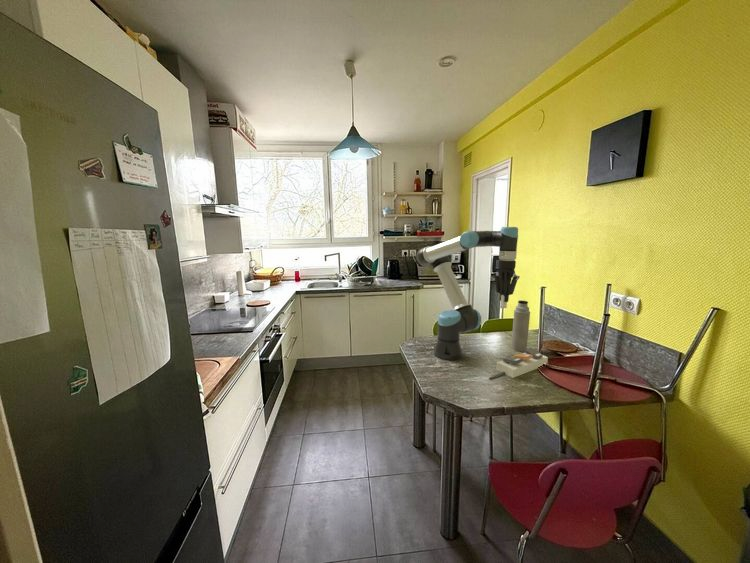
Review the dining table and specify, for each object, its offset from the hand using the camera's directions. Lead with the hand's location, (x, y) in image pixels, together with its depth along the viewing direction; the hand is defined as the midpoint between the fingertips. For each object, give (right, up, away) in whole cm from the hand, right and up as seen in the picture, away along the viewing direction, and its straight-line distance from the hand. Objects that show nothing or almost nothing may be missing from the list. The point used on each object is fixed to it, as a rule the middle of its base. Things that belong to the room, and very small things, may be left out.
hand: (503, 307), depth 143 cm
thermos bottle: (+19, -26, +24) cm, 40 cm away
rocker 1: (+3, -25, -3) cm, 25 cm away
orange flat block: (+10, -24, +1) cm, 26 cm away
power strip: (+6, -30, -1) cm, 31 cm away
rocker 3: (+17, -24, +5) cm, 29 cm away
